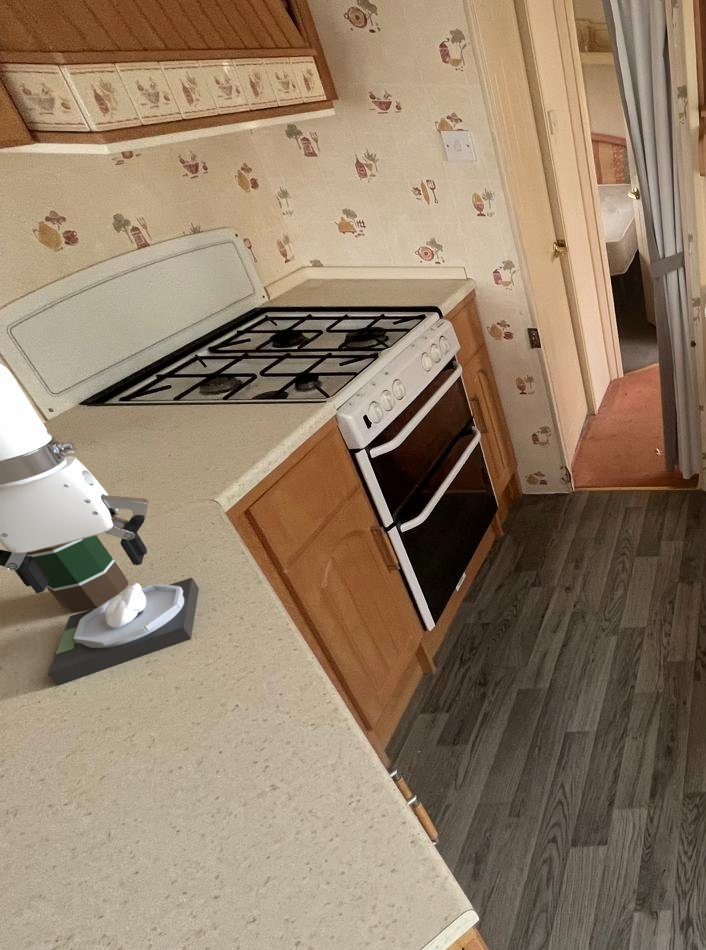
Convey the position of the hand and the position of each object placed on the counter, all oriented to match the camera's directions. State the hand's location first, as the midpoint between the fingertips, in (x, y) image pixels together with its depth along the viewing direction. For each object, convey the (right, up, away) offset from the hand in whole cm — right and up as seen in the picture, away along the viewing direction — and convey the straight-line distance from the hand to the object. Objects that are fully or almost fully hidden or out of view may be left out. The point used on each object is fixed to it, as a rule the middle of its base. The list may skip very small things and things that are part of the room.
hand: (93, 573), depth 90 cm
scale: (0, -10, +6) cm, 11 cm away
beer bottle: (-13, -6, +13) cm, 19 cm away
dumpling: (+1, -7, +5) cm, 8 cm away
